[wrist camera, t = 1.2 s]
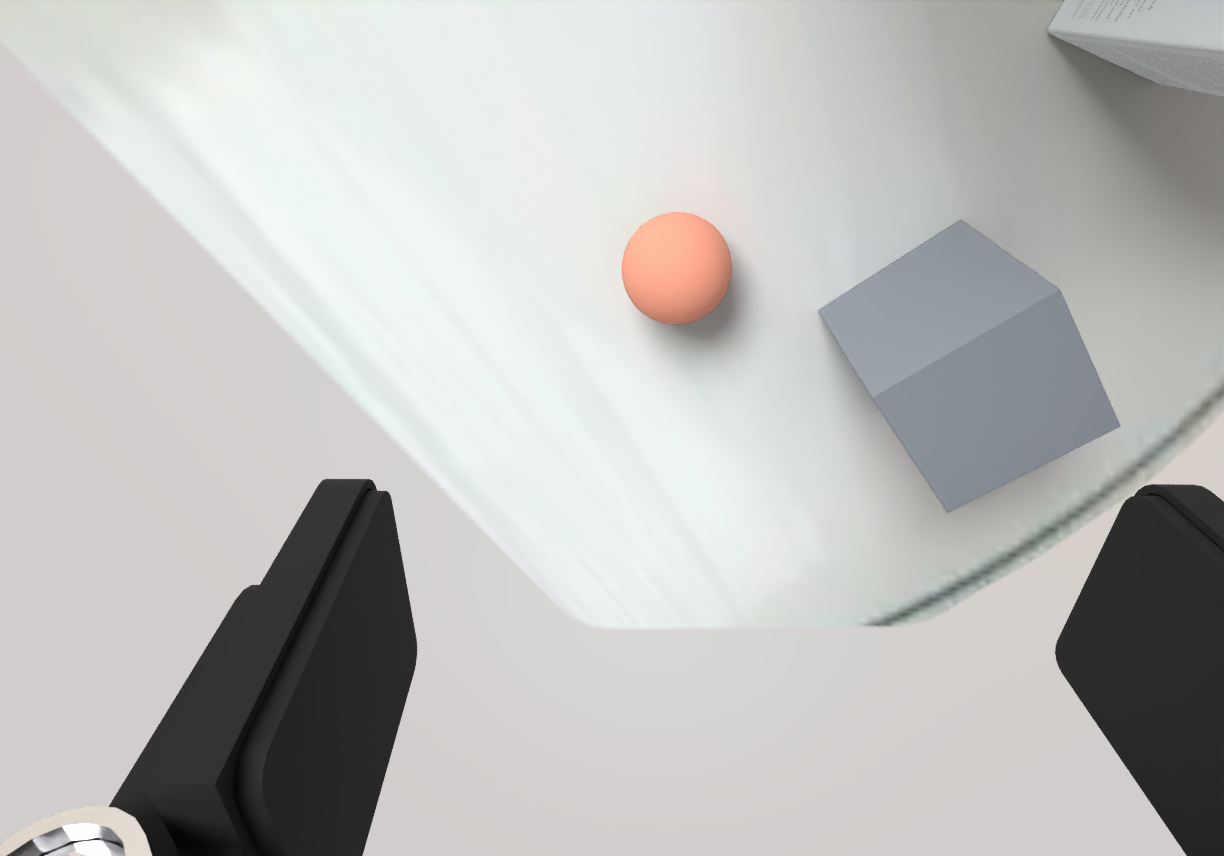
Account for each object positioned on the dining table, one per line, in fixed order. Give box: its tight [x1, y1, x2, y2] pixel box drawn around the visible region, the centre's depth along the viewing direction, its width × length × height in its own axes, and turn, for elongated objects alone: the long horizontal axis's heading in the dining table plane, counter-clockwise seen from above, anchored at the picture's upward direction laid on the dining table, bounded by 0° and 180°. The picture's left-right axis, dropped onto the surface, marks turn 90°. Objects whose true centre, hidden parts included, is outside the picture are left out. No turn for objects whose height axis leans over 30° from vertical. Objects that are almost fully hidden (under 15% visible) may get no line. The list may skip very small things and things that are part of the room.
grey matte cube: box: [818, 220, 1120, 513], centre depth 33 cm, size 8×8×9 cm
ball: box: [622, 212, 731, 324], centre depth 33 cm, size 5×5×5 cm
